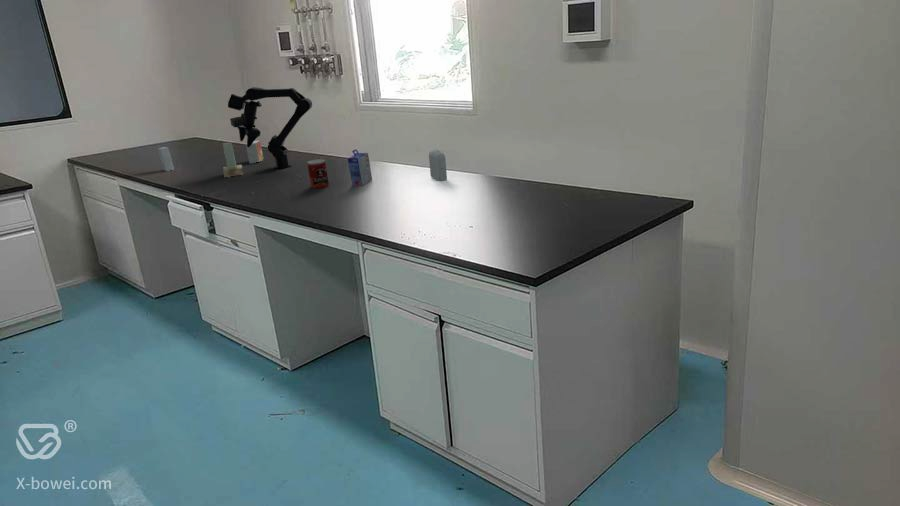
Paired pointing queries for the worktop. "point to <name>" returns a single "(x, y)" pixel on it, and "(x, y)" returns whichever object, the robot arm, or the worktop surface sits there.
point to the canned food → (318, 173)
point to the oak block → (233, 171)
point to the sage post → (229, 155)
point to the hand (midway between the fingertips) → (244, 144)
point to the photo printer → (437, 165)
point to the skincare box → (165, 158)
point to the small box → (255, 152)
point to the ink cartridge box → (359, 168)
